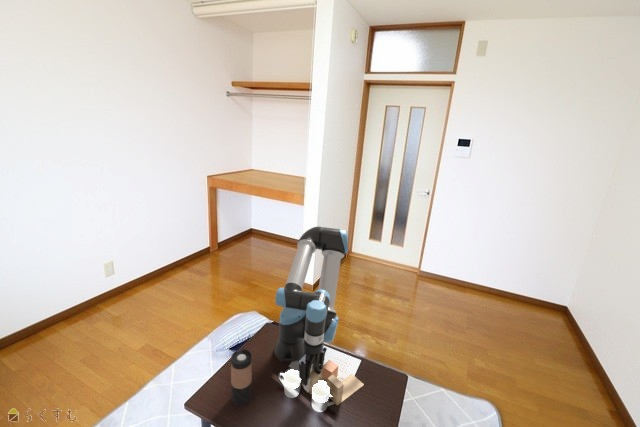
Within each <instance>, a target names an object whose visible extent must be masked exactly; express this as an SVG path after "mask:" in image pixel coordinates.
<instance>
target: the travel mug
mask: <svg viewBox="0 0 640 427" xmlns="http://www.w3.org/2000/svg"><path fill="white" fill-rule="evenodd" d="M252 360H253V359H252V352H251V351H249V350H247V349H241V350H239V351H238V350H236V351H234V352H233V353H232V354H231V357H230V385H231V386H230V387H231V401H232V403H233V404H234V406H237V407H241V406H246V405H247V404H248V403H249V402H250V400H251V397H252V380H253V379H252V378H253V376H252V374H253V373H252V372H253V371H252V370H253V366H252V364H253V363H252Z"/></svg>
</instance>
